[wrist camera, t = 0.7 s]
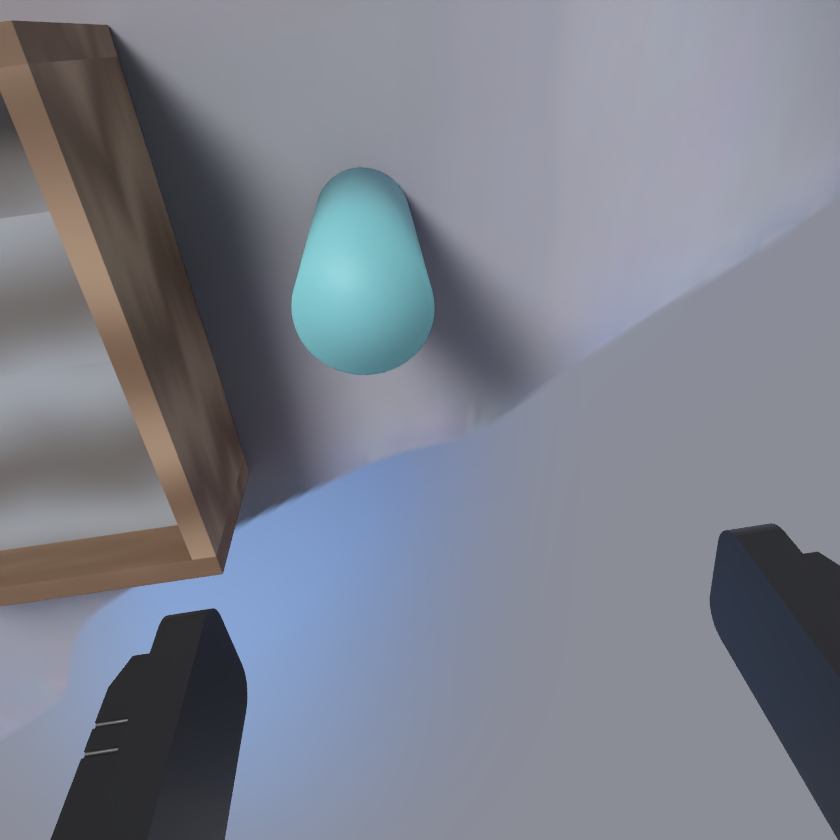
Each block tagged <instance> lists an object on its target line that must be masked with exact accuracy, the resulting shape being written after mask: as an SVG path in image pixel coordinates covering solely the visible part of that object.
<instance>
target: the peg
mask: <svg viewBox="0 0 840 840" xmlns="http://www.w3.org/2000/svg"><path fill="white" fill-rule="evenodd" d="M291 306H292V317H293V322H294V326H295V329H296V331H297V333H298V336H299V338H300V339H301V341H302V342H303V344H304V345H305V347H306V348H307V349H308V350H309V351H310V352H311V353H312V354H313V355H314V356H315V357H316V358H317V359H318V360H320V361H321V362H323V363H324V364H326V365H328V366H330V367H331V368H334V369H336V370H339V371H342V372H345V373H350V374H356V375H371V374H378V373H383V372H386V371H389V370H392V369H394V368H396V367H399V366H400V365H402V364H404V363H405V362H407V361H408V360H409V359H411V358H412V357H413V356H414V355H415V354H416V353H417V352H418V351H419V350H420V348H421V347H422V346H423V344H424V343H425V341H426V339H427V338H428V336H429V333H430V331H431V328H432V325H433V320H434V312H435V305H434V297H433V292H432V288H431V284H430V281H429V277H428V274H427V270H426V266H425V263H424V259H423V255H422V252H421V248H420V245H419V241H418V237H417V234H416V230H415V227H414V223H413V219H412V216H411V212H410V208H409V205H408V202H407V199H406V196H405V194H404V192H403V191H402V189H401V188H400V186H399V185H398V184H397V183H396V182H395V181H394V180H393V179H392V178H391V177H389V176H388V175H386V174H384V173H382V172H380V171H378V170H375V169H371V168H353V169H348V170H346V171H343V172H341V173H339V174H337V175H336V176H335V177H333V178H332V179H331V180H330V181H329V182H328V183H327V184H326V185H325V187H324V188H323V190H322V192H321V193H320V196H319V198H318V202H317V205H316V209H315V213H314V216H313V220H312V224H311V228H310V231H309V235H308V239H307V242H306V246H305V250H304V253H303V257H302V261H301V265H300V268H299V272H298V276H297V279H296V283H295V287H294V291H293V294H292V303H291Z"/></svg>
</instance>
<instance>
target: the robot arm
mask: <svg viewBox="0 0 840 840" xmlns="http://www.w3.org/2000/svg"><path fill="white" fill-rule="evenodd" d="M710 608H711V614H712V618H713V621H714V625H715V627H716V630H717V632H718V634H719V636H720V638H721V640H722V642H723V643H724V645H725V647H726V648H727V650H728V651H729V654H730V655H731V657H732V659H733V660H734V662H735V664H736V666H737V667H738V669H739V671H740V672H741V674H742V676H743V677H744V679H745V681H746V683H747V684H748V686H749V688H750V690H751V691H752V693H753V695H754V696H755V698H756V700H757V702H758V703H759V705H760V707H761V708H762V710H763V712H764V714H765V715H766V717H767V719H768V720H769V722H770V724H771V726H772V727H773V729H774V731H775V732H776V734H777V736H778V737H779V739H780V741H781V743H782V744H783V746H784V748H785V749H786V751H787V753H788V754H789V756H790V758H791V760H792V762H793V763H794V765H795V767H796V768H797V770H798V772H799V774H800V775H801V777H802V779H803V780H804V782H805V784H806V786H807V787H808V789H809V791H810V792H811V794H812V796H813V798H814V799H815V801H816V803H817V804H818V806H819V808H820V810H821V811H822V813H823V815H824V816H825V818H826V820H827V822H828V823H829V825H830V827H831V828H832V830H833V832H834V834H835V835H836V837H837V839H838V840H840V566H839V565H838V564H836V563H835V562H833V561H832V560H830V559H828V558H827V557H825V556H824V555H822V554H821V553H819V552H813V553H806V554H803V553H802V552H801V551H800V550H799V549H798V547H797V546H796V545H795V544H794V543H793V541H792V540H791V539H790V538H789V537H788V536H787V534H786V533H785V532H784V531H783V530H782V529H781V528H780V527H779V526H777V525H775V524H765V525H759V526H752V527H745V528H739V529H732V530H726V531H723V532H722V533H721V534H720V536H719V540H718V546H717V552H716V559H715V566H714V572H713V580H712V586H711V594H710ZM246 708H247V682H246V676H245V672H244V669H243V666H242V663H241V661H240V659H239V657H238V654H237V652H236V650H235V647H234V645H233V643H232V641H231V638H230V636H229V634H228V632H227V629H226V627H225V625H224V622H223V620H222V618H221V616H220V614H219V612H218V611H217V610H216V609H206V610H200V611H193V612H187V613H181V614H174V615H168V616H165V617H164V618H163V619H162V621H161V623H160V625H159V627H158V630H157V633H156V637H155V639H154V642H153V646H152V649H151V651H150V653H149V654H142V655H136V656H133V657H132V658H131V659H130V660H129V662H128V663H127V664H126V665H125V667H124V668H123V669H122V671H121V672H120V673H119V674H118V676H117V677H116V679H115V680H114V681H113V682H112V683H111V685H110V686H109V687H108V690H107V692H106V695H105V698H104V700H103V703H102V706H101V708H100V711H99V713H98V716H97V719H96V721H95V723H96V727H95V729H93V730H92V732H91V735H90V737H89V740H88V742H87V745H86V748H85V751H84V752H85V757H84V758H83V759H81V761H80V763H79V766H78V769H77V771H76V774H75V777H74V780H73V782H72V785H71V787H70V790H69V792H68V795H67V798H66V800H65V803H64V806H63V808H62V811H61V813H60V816H59V819H58V821H57V824H56V827H55V829H54V832H53V835H52V837H51V840H225V834H226V828H227V822H228V816H229V810H230V804H231V798H232V792H233V786H234V780H235V774H236V768H237V762H238V756H239V750H240V744H241V738H242V732H243V726H244V720H245V714H246Z"/></svg>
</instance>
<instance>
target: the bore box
mask: <svg viewBox="0 0 840 840" xmlns="http://www.w3.org/2000/svg"><path fill="white" fill-rule="evenodd" d="M248 475H249V469H248V466H247V462H246V459H245V456H244V453H243V450H242V447H241V444H240V440H239V437H238V434H237V431H236V428H235V425H234V421H233V418H232V415H231V412H230V409H229V406H228V403H227V399H226V396H225V393H224V390H223V387H222V384H221V380H220V377H219V374H218V371H217V368H216V365H215V362H214V358H213V355H212V352H211V349H210V346H209V343H208V339H207V336H206V333H205V330H204V327H203V324H202V321H201V317H200V314H199V311H198V308H197V305H196V302H195V298H194V295H193V292H192V289H191V286H190V283H189V279H188V276H187V273H186V270H185V267H184V264H183V261H182V257H181V254H180V251H179V248H178V245H177V242H176V238H175V235H174V232H173V229H172V226H171V223H170V220H169V216H168V213H167V210H166V207H165V204H164V201H163V197H162V194H161V191H160V188H159V185H158V182H157V179H156V175H155V172H154V169H153V166H152V163H151V160H150V156H149V153H148V150H147V147H146V144H145V141H144V138H143V134H142V131H141V128H140V125H139V122H138V119H137V115H136V112H135V109H134V106H133V103H132V100H131V97H130V93H129V90H128V87H127V84H126V81H125V78H124V74H123V71H122V68H121V65H120V62H119V59H118V55H117V52H116V49H115V46H114V43H113V40H112V37H111V33H110V30H109V27H108V25H93V24H72V23H51V22H30V21H5V22H0V606H6V605H12V604H19V603H26V602H33V601H40V600H47V599H54V598H61V597H68V596H75V595H81V594H88V593H95V592H102V591H109V590H116V589H123V588H130V587H137V586H144V585H150V584H157V583H163V582H171V581H178V580H184V579H192V578H199V577H206V576H212V575H219V574H223V571H224V567H225V563H226V559H227V555H228V551H229V548H230V544H231V540H232V536H233V533H234V529H235V525H236V521H237V517H238V513H239V509H240V506H241V502H242V498H243V494H244V490H245V486H246V482H247V478H248Z"/></svg>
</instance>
